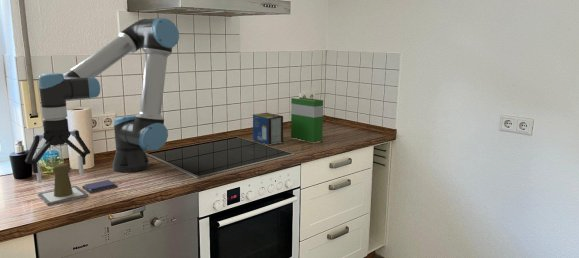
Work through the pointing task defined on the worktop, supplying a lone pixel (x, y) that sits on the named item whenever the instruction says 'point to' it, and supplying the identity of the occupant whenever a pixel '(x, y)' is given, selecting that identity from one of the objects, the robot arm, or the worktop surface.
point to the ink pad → (99, 186)
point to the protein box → (267, 128)
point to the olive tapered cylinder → (62, 181)
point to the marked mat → (51, 199)
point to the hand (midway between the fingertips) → (61, 177)
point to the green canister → (307, 119)
